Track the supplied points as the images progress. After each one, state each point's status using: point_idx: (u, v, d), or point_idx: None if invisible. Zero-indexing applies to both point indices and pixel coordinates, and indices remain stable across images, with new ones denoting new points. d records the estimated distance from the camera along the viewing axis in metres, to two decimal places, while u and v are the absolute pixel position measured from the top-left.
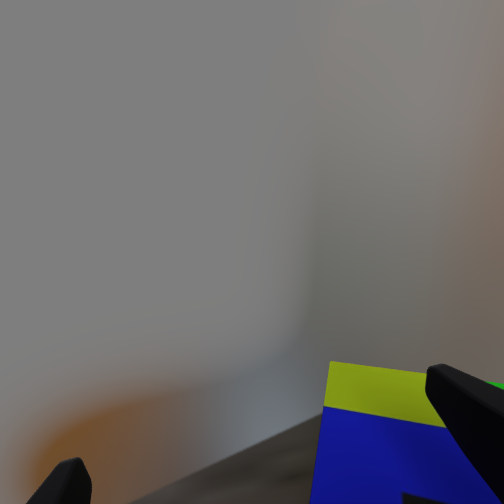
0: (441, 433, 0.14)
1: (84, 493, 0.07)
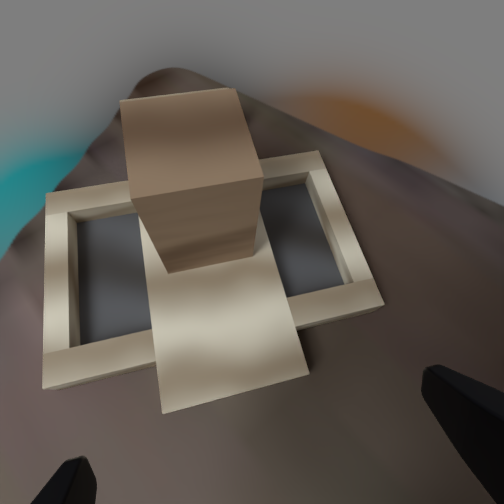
0: None
1: (89, 492, 0.07)
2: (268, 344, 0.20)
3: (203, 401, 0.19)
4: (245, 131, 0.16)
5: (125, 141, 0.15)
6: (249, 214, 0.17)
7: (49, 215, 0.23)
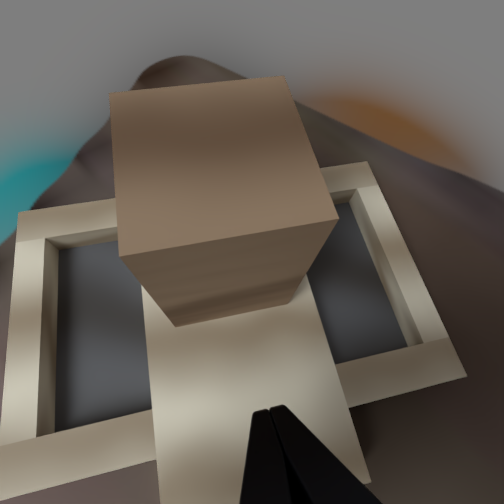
0: None
1: None
2: None
3: None
4: (303, 142, 0.10)
5: (115, 155, 0.09)
6: (298, 264, 0.12)
7: (21, 241, 0.18)
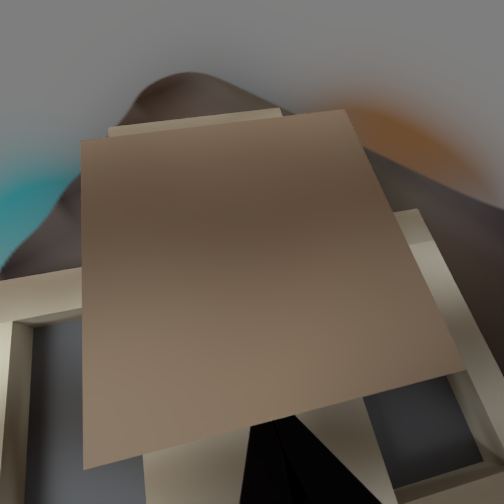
0: None
1: None
2: None
3: None
4: (388, 222, 0.06)
5: (85, 253, 0.06)
6: None
7: None
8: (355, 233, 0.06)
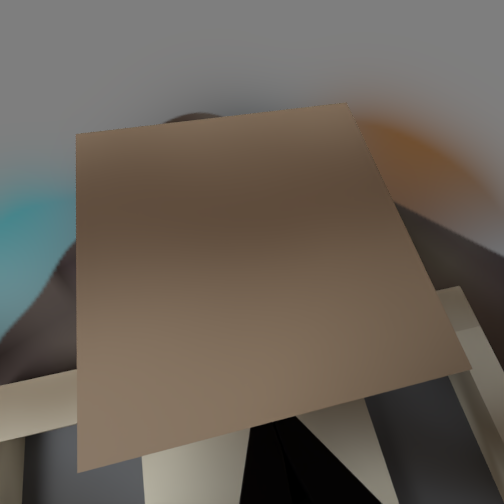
0: None
1: None
2: None
3: None
4: (391, 217, 0.06)
5: (80, 249, 0.05)
6: None
7: None
8: (357, 229, 0.06)
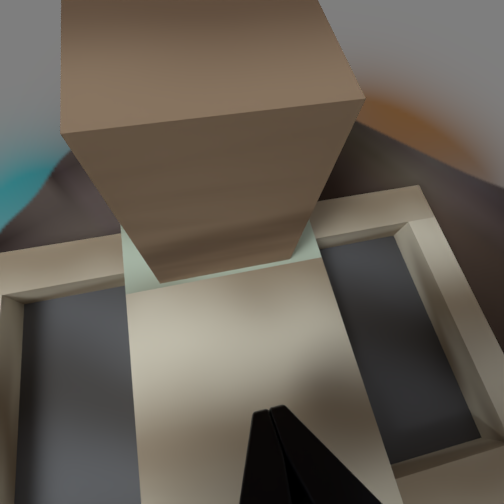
0: None
1: None
2: None
3: None
4: (316, 13, 0.08)
5: (64, 18, 0.07)
6: (306, 188, 0.09)
7: None
8: (288, 18, 0.07)
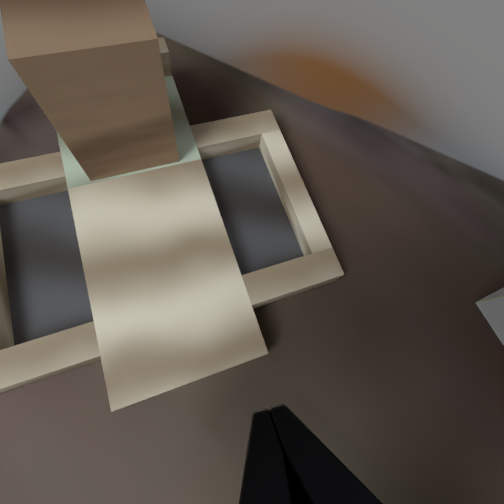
0: None
1: None
2: (224, 326, 0.19)
3: (156, 393, 0.17)
4: None
5: (1, 3, 0.14)
6: (157, 97, 0.17)
7: None
8: None
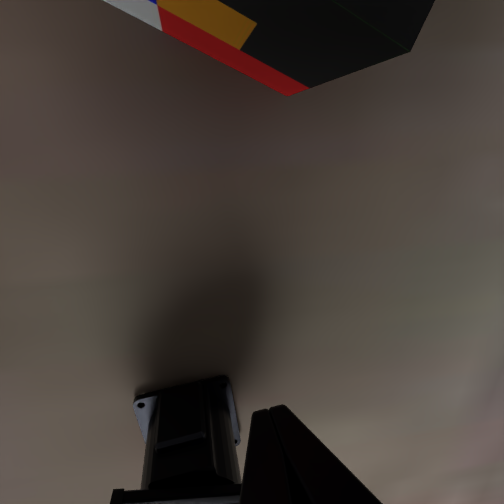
0: None
1: None
2: None
3: None
4: None
5: None
6: None
7: None
8: None
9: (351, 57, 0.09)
